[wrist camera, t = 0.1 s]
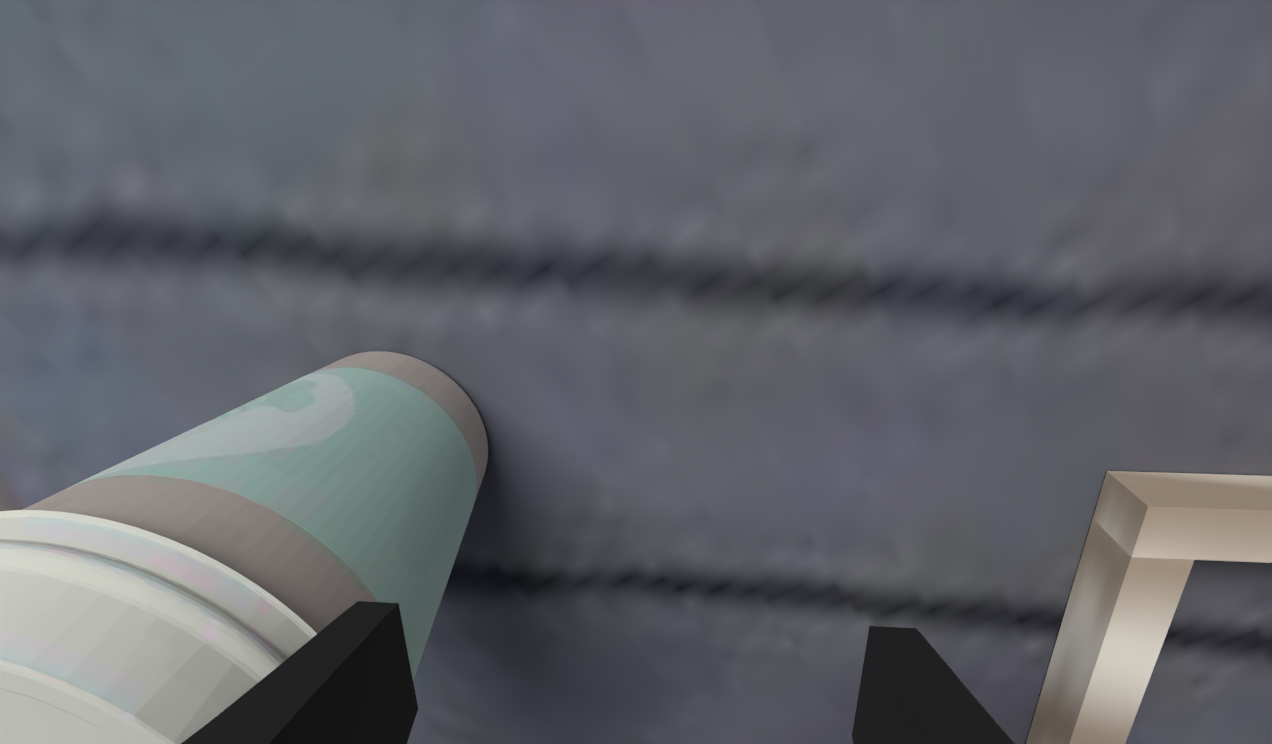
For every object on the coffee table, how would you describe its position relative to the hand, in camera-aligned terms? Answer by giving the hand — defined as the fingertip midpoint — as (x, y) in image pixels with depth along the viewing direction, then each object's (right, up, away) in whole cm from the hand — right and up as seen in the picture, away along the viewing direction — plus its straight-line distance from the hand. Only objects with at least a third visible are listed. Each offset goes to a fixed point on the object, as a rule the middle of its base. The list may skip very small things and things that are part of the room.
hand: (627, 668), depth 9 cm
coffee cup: (-7, +2, +11) cm, 13 cm away
